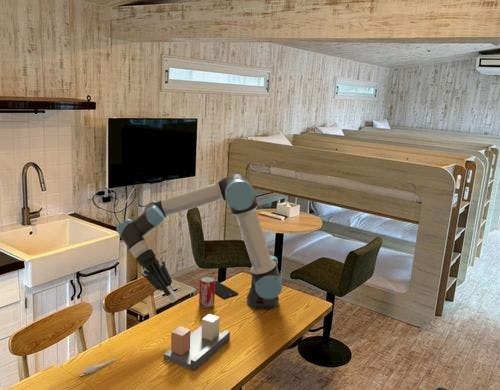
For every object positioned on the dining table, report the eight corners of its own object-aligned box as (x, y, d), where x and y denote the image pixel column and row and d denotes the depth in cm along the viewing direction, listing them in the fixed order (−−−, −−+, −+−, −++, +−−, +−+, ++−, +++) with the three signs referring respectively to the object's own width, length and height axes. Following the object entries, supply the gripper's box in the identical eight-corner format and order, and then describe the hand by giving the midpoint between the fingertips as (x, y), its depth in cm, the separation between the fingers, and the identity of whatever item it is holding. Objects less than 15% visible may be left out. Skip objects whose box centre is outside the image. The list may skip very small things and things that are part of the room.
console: (163, 358, 168) (163, 349, 167) (200, 330, 188) (200, 321, 187) (194, 371, 161) (195, 361, 160) (229, 340, 182) (230, 331, 181)
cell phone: (224, 299, 217) (224, 298, 216) (202, 286, 230) (202, 284, 229) (238, 295, 222) (238, 293, 222) (216, 282, 235) (216, 280, 235)
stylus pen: (80, 379, 154) (80, 374, 153) (76, 376, 155) (76, 371, 155) (118, 363, 165) (118, 358, 165) (114, 360, 167) (114, 355, 166)
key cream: (201, 337, 179) (202, 318, 177) (208, 331, 183) (209, 313, 181) (212, 341, 176) (212, 322, 175) (219, 335, 181) (219, 317, 179)
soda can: (205, 300, 215) (206, 274, 212) (217, 304, 211) (218, 278, 208) (195, 305, 209) (196, 279, 206) (207, 310, 205) (208, 283, 202)
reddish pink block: (171, 351, 168) (171, 331, 167) (179, 345, 173) (179, 326, 171) (182, 355, 166) (182, 335, 164) (190, 349, 170) (190, 329, 169)
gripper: (148, 253, 195) (179, 299, 192) (127, 263, 184) (159, 311, 180) (158, 244, 192) (190, 290, 188) (137, 253, 180) (170, 302, 177)
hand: (175, 300), depth 184 cm, fingers closed
